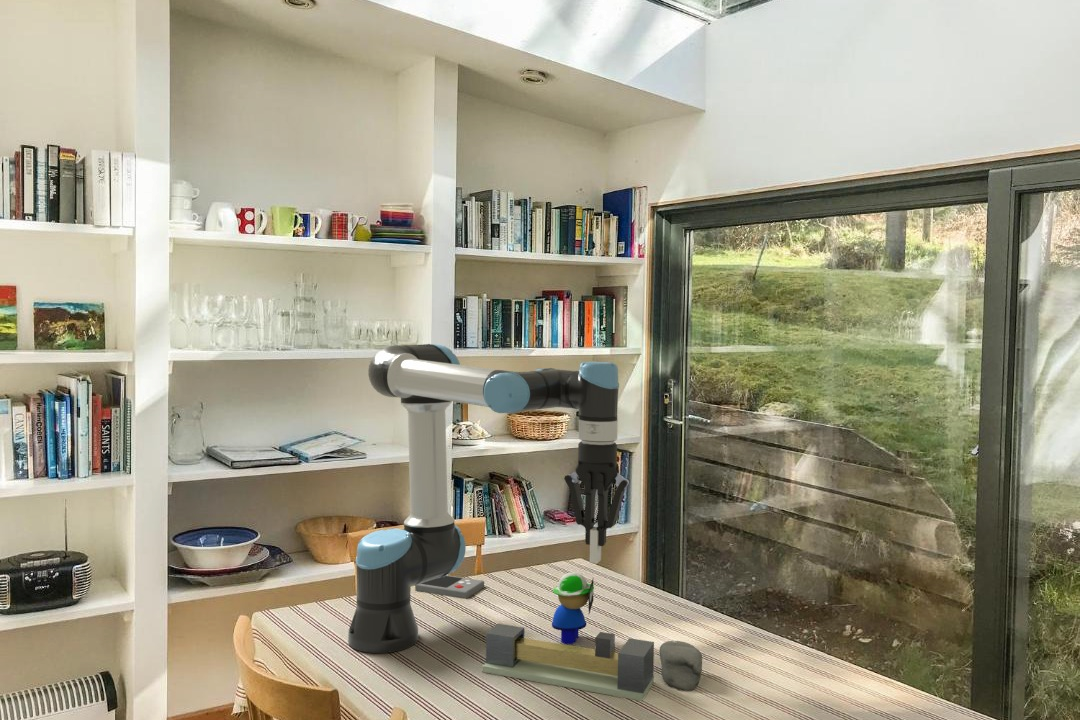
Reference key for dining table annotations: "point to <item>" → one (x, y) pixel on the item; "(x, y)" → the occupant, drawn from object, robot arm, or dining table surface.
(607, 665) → the sliding bolt
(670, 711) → the dining table surface
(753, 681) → the dining table surface
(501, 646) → the guide sleeve
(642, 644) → the socket block
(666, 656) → the stone
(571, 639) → the toy
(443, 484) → the robot arm
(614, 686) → the base plank
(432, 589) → the electronic device
